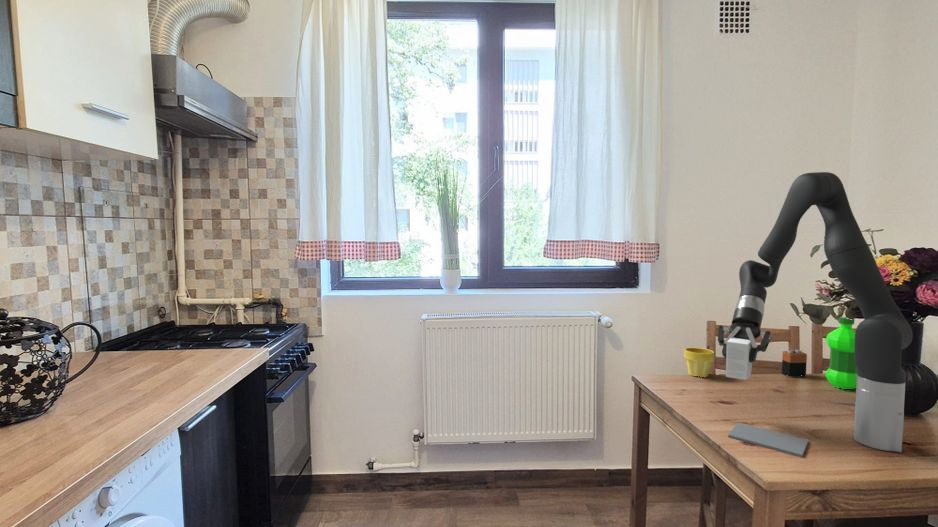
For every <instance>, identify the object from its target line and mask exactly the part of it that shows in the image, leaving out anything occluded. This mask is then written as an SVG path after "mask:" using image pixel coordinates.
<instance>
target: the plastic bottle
mask: <svg viewBox="0 0 938 527" xmlns="http://www.w3.org/2000/svg"><path fill="white" fill-rule="evenodd" d="M840 317H841V318H840V319H839V318H838V319H839V320H838V324H839V327H838V328H836V329H834V330H832V331H831V332H829V333H828V334H827V336H826V339H825V340H826V342H825V343H826V345H827V346H828V347H829V348H830V354H829V367H828V369H827V370H826V372H825V377H826V379H827V381H828V382H829V383H830V384H831V386H833V387H834V388H835V387H837V388H836V389H838V388H841V389H840V390H843V389H853V390H854V389H856V384H857V367H856V365H855V360H854V342H855V331H856V329H855V330H854V329H853V325H855V318H853V319H852V320H850V319H847V318H848V317H845V316H840Z"/></svg>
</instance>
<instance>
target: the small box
mask: <svg viewBox="0 0 938 527" xmlns="http://www.w3.org/2000/svg"><path fill="white" fill-rule="evenodd" d="M751 348H752V345H751V341H750V340H747V339H739V338H730V339H729V340H728V341H727V349H726V358H725V359H726V361H725V377H726V378H733V379H738V380H744V381H747V380H748V379H749V378H750V376H751V374H752V369H753V368H752V367H753V365H752V364H753V363H751V362H749V354H750V350H751Z"/></svg>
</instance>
